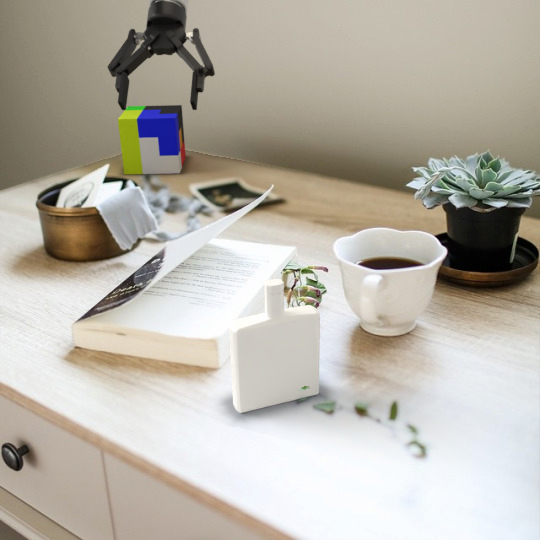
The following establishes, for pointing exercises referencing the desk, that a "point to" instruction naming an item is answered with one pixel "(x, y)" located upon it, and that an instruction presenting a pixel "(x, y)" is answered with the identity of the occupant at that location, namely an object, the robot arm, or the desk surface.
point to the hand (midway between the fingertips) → (157, 106)
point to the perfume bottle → (274, 353)
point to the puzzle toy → (152, 139)
